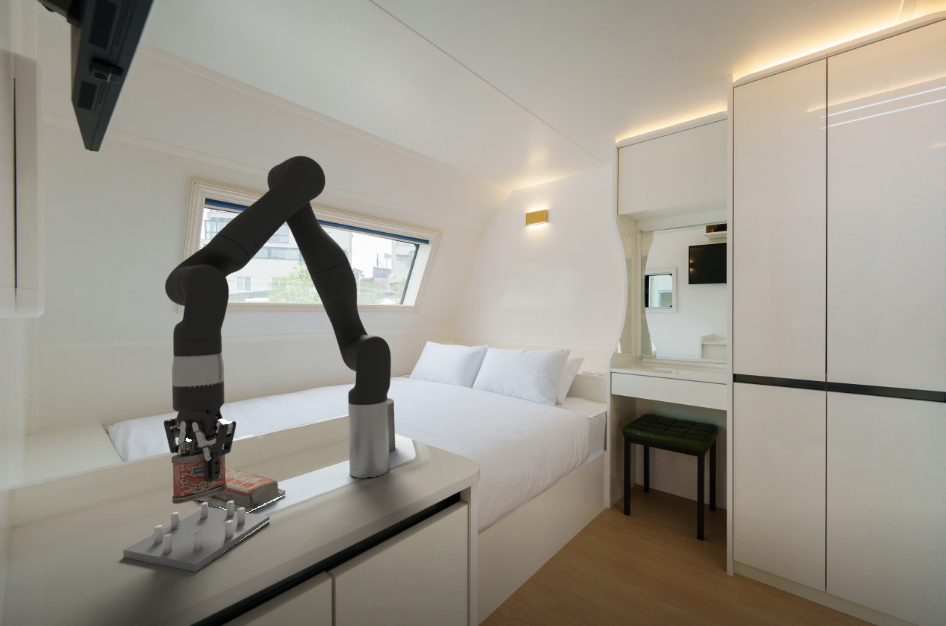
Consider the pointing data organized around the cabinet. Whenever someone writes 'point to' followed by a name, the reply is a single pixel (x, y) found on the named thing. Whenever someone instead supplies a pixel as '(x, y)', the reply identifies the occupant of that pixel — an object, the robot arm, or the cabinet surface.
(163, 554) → the pin tray
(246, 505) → the packaged product
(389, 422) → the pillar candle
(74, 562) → the cabinet surface
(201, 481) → the lighter
